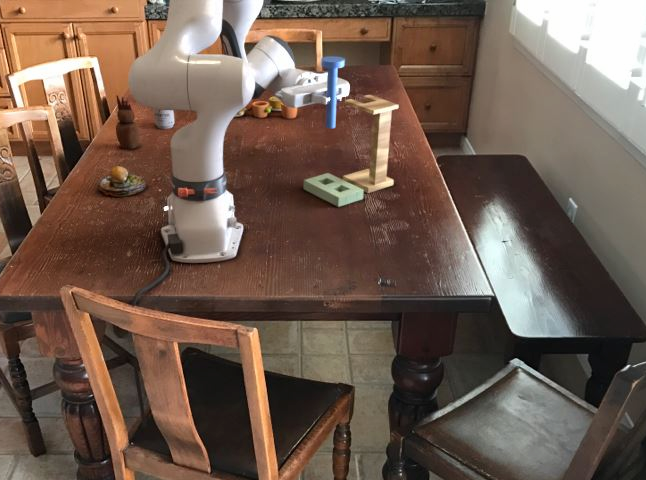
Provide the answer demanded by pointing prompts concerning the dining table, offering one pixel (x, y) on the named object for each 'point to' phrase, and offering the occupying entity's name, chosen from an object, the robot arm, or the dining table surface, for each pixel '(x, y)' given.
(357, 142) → the dining table surface
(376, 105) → the stand
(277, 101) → the toy tea set
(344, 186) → the holder
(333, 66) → the peg
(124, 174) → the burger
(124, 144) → the wooden figurine
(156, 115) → the energy drink can
